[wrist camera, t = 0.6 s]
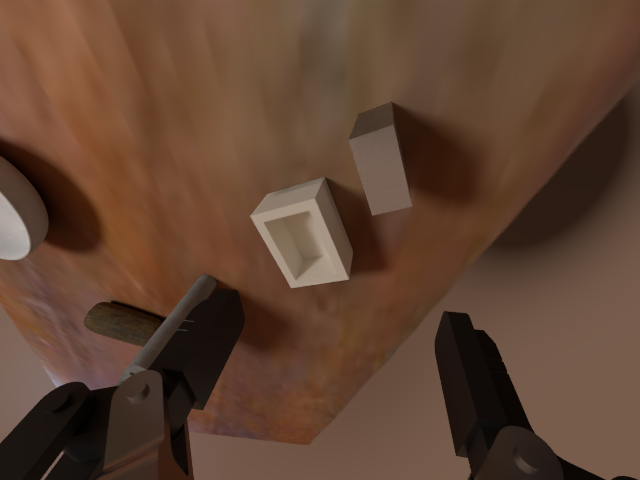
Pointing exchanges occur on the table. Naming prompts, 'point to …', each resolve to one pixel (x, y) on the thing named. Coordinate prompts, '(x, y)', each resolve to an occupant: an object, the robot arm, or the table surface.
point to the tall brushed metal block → (380, 160)
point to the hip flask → (170, 326)
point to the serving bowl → (19, 214)
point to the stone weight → (122, 323)
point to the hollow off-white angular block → (305, 234)
